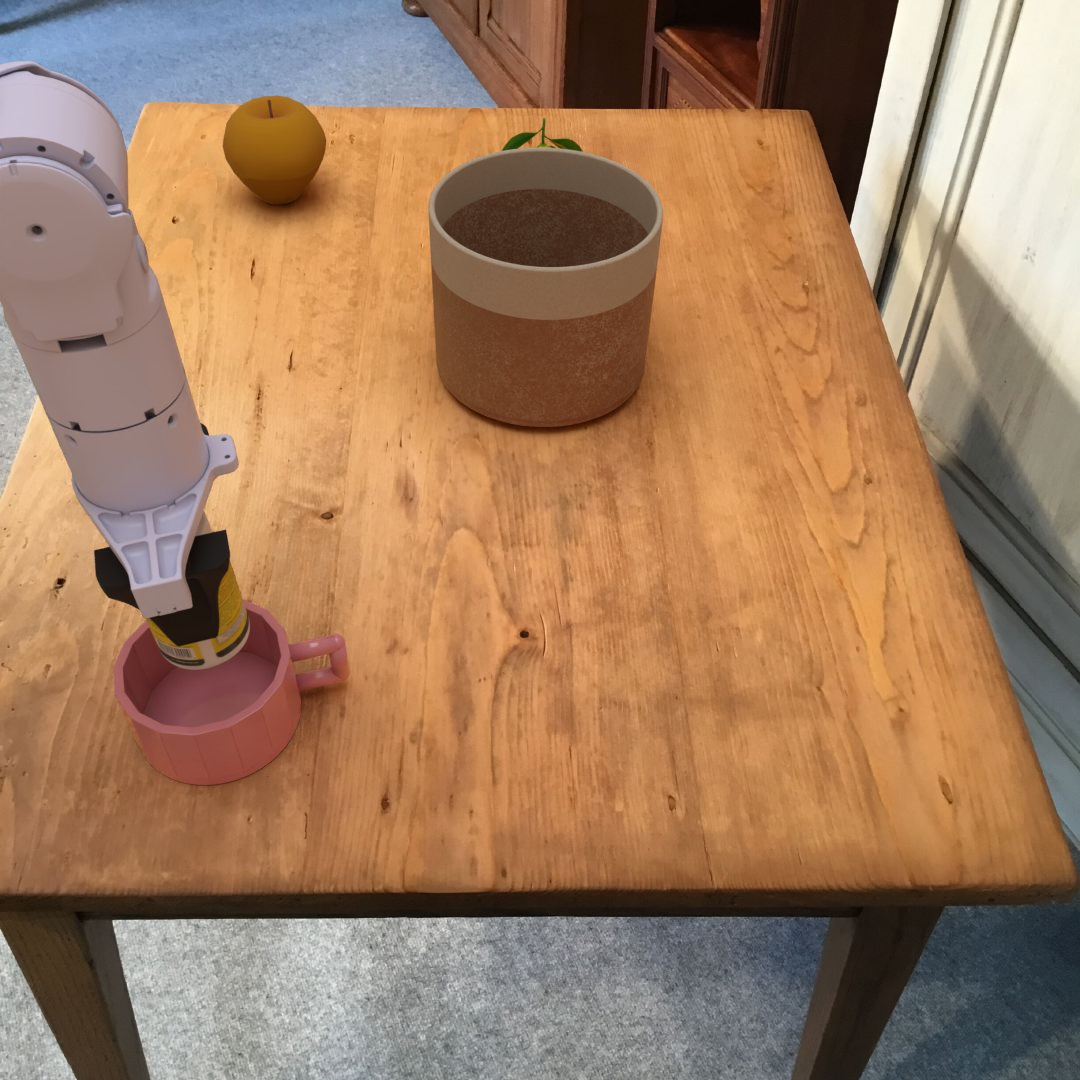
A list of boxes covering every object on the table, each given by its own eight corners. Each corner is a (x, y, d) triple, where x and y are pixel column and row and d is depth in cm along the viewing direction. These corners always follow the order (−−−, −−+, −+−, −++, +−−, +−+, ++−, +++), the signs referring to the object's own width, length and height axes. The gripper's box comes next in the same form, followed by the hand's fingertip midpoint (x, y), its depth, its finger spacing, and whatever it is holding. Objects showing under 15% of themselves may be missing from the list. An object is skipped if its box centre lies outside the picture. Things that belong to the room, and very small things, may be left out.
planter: (651, 317, 88) (671, 158, 78) (633, 447, 77) (654, 282, 67) (459, 296, 89) (454, 136, 79) (415, 420, 79) (403, 254, 68)
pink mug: (143, 804, 57) (118, 753, 53) (131, 671, 63) (109, 616, 59) (368, 747, 60) (359, 695, 56) (337, 624, 66) (328, 570, 62)
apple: (338, 218, 97) (326, 121, 90) (235, 228, 95) (216, 130, 89) (327, 168, 103) (316, 74, 96) (231, 176, 101) (212, 81, 95)
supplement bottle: (242, 591, 59) (207, 480, 53) (259, 656, 56) (224, 546, 50) (152, 616, 58) (105, 505, 52) (165, 684, 55) (117, 575, 49)
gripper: (235, 484, 41) (294, 691, 51) (195, 274, 50) (251, 484, 60) (39, 525, 39) (139, 730, 49) (35, 301, 49) (119, 512, 59)
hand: (191, 597), depth 55 cm, fingers closed on supplement bottle, 5 cm apart
